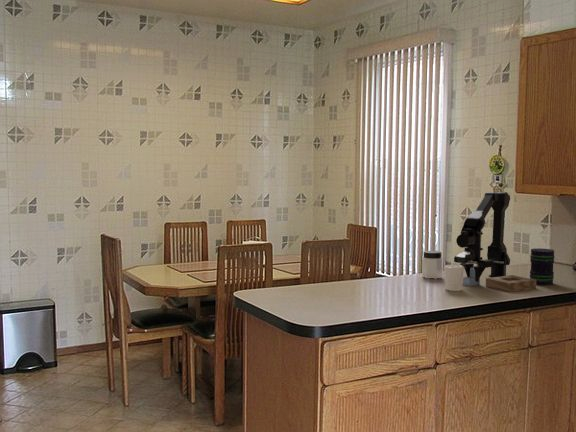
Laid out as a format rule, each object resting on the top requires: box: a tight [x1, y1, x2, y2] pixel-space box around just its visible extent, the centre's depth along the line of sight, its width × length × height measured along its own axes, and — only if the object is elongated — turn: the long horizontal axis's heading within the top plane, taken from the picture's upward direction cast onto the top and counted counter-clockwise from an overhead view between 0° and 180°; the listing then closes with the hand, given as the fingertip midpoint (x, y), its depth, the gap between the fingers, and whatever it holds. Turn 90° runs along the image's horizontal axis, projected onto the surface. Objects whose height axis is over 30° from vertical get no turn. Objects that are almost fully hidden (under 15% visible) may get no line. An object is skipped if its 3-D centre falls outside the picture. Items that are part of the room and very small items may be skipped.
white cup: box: [443, 264, 465, 292], centre depth 263 cm, size 8×8×10 cm
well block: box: [485, 274, 537, 293], centre depth 268 cm, size 16×13×4 cm
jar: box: [421, 250, 443, 280], centre depth 291 cm, size 9×8×12 cm
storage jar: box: [529, 247, 555, 287], centre depth 277 cm, size 10×10×15 cm
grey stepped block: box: [462, 267, 481, 287], centre depth 275 cm, size 6×4×7 cm, turn 118°
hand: (473, 280), depth 276 cm, fingers closed on grey stepped block, 4 cm apart
